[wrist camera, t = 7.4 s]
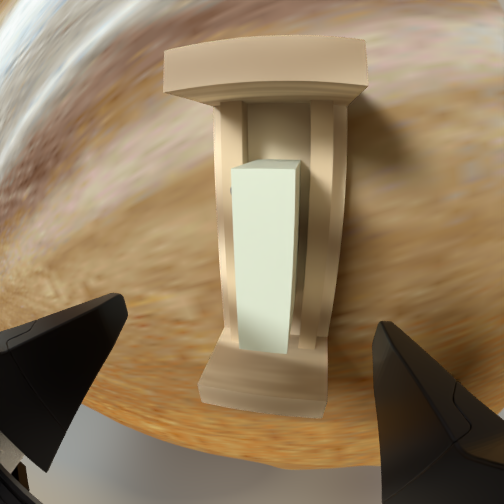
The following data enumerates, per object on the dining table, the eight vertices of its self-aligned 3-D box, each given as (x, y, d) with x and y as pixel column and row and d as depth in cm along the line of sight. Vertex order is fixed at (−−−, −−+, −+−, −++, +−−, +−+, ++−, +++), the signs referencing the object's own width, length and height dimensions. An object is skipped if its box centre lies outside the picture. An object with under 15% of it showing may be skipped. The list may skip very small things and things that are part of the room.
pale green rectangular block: (295, 294, 19) (287, 354, 13) (249, 290, 20) (225, 346, 14) (300, 160, 15) (295, 169, 10) (246, 159, 16) (212, 169, 11)
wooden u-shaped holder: (323, 349, 21) (321, 418, 15) (228, 339, 23) (201, 402, 16) (344, 77, 14) (364, 39, 7) (216, 79, 15) (164, 50, 9)
